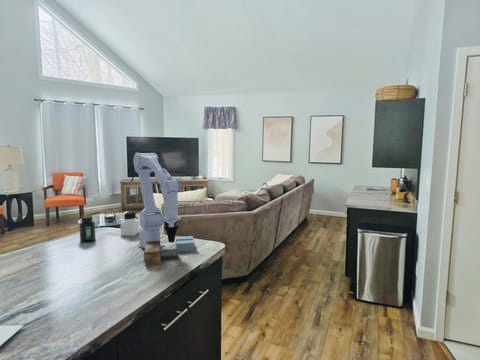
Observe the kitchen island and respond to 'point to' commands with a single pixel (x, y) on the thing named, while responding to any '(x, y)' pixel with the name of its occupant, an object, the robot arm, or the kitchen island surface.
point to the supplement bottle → (87, 229)
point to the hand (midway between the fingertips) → (171, 239)
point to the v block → (185, 244)
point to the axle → (168, 253)
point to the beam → (152, 253)
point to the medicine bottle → (129, 224)
